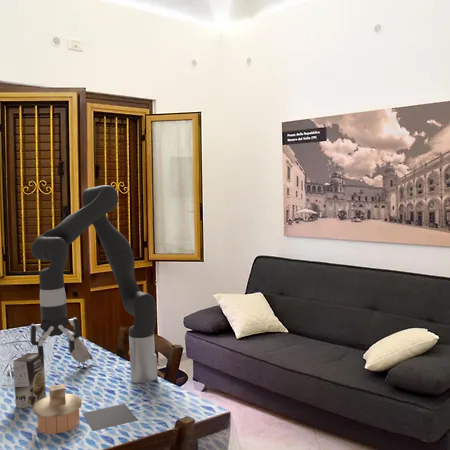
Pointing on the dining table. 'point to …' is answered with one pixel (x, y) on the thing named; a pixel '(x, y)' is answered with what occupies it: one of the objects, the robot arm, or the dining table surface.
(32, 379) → the coffee box
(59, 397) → the oak lid
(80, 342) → the bird
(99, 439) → the dining table surface
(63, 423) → the terracotta bowl
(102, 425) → the rubber mat
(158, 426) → the dining table surface
